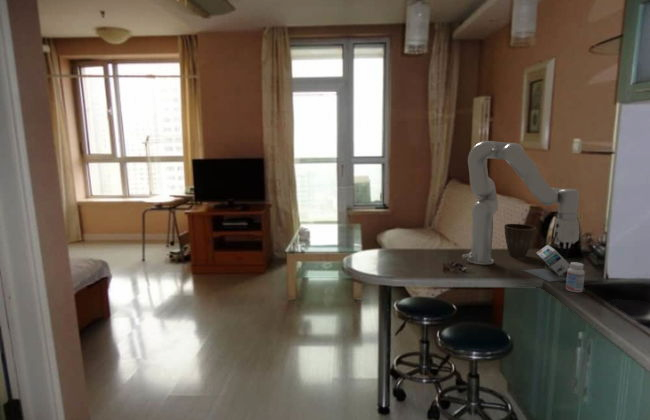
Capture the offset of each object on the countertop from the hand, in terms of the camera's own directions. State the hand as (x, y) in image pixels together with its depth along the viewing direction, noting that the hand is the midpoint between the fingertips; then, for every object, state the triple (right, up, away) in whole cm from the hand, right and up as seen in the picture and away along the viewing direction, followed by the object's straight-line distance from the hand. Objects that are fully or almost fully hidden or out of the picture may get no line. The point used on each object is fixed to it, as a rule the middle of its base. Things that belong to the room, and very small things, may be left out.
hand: (563, 256), depth 187 cm
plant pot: (-6, -4, +31) cm, 32 cm away
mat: (-8, -9, 0) cm, 12 cm away
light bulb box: (0, -6, +2) cm, 6 cm away
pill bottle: (-7, -12, -19) cm, 24 cm away
